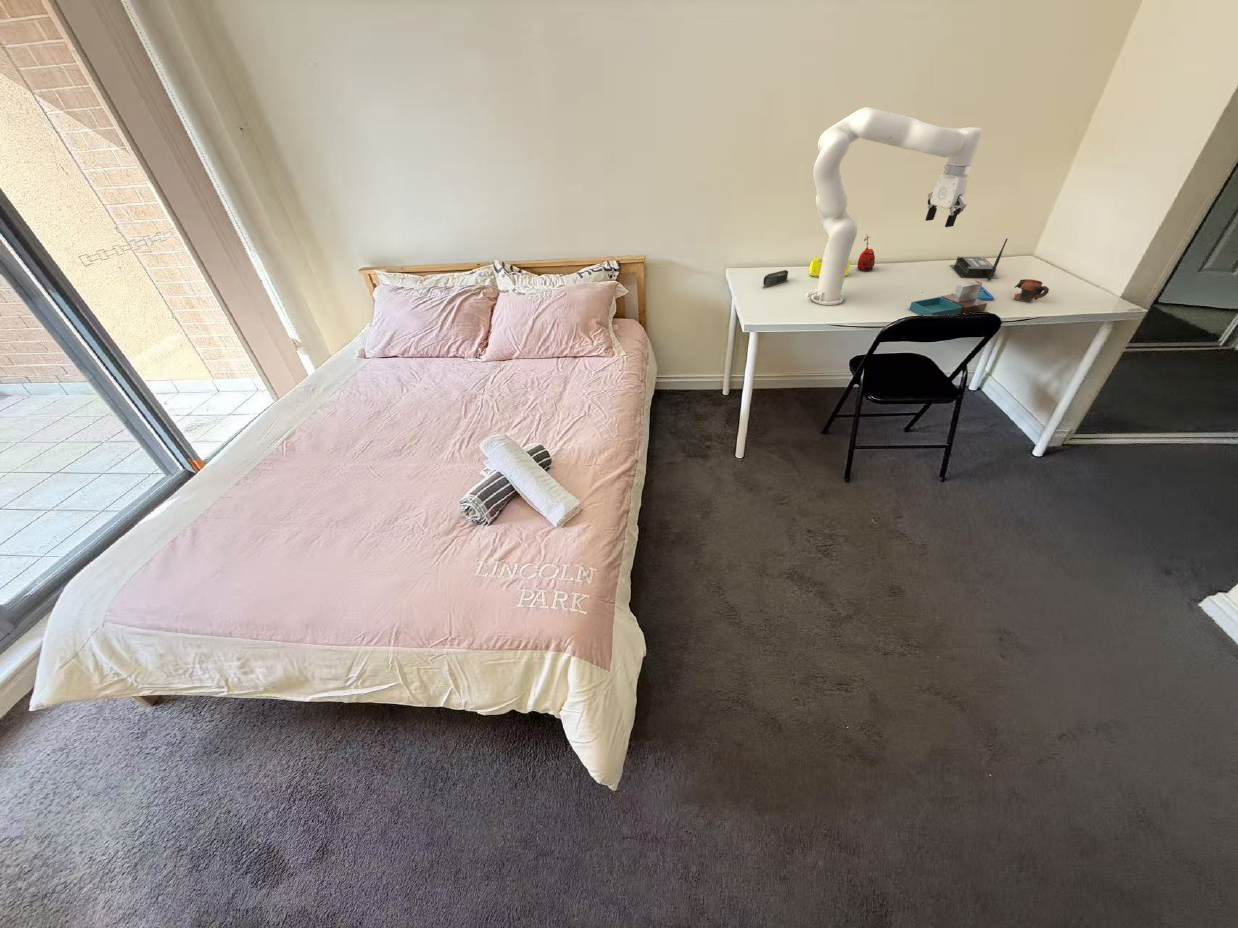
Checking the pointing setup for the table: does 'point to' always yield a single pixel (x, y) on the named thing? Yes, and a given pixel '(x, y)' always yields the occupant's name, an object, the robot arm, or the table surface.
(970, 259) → the wireless controller
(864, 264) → the red clay folk toy
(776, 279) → the mobile phone
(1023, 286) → the pottery mug
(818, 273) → the yellow toy chassis
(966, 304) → the panel
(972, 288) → the white block
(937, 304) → the basin
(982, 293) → the handheld gaming device
